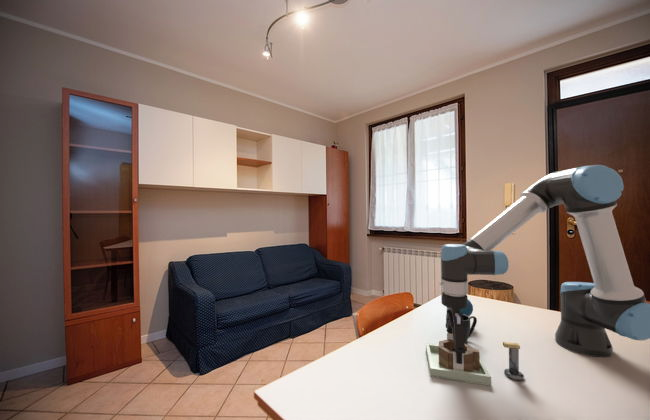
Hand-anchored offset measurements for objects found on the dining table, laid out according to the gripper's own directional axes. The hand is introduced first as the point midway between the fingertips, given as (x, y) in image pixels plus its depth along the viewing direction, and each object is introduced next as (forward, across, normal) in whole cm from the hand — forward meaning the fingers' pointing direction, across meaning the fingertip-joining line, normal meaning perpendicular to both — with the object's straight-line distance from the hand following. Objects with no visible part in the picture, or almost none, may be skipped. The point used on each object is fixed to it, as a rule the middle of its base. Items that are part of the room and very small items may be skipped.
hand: (454, 362), depth 86 cm
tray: (+1, 0, 0) cm, 1 cm away
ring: (+1, 0, 0) cm, 1 cm away
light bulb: (+1, -35, +9) cm, 36 cm away
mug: (+1, -19, +6) cm, 20 cm away
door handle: (+1, +1, +16) cm, 16 cm away
